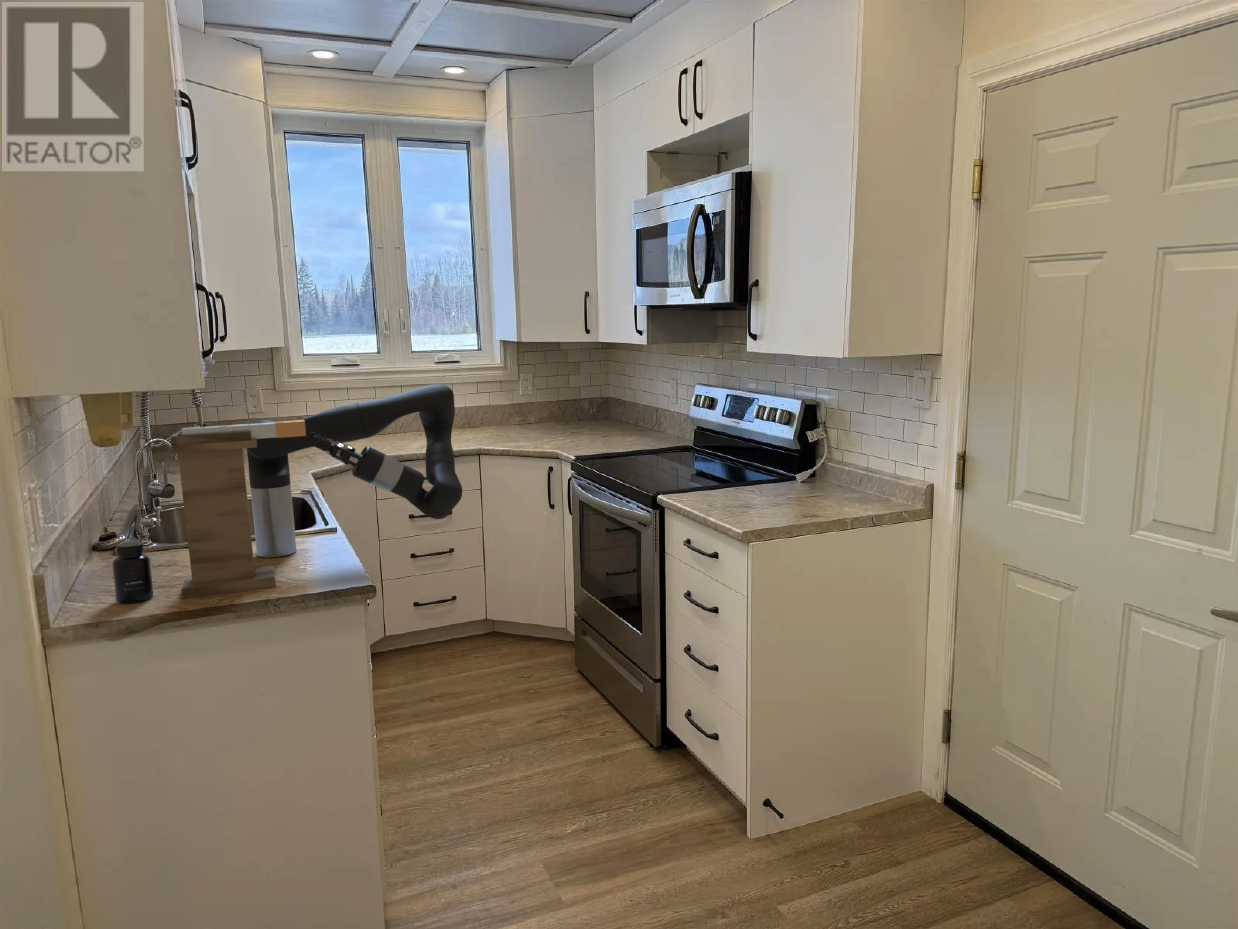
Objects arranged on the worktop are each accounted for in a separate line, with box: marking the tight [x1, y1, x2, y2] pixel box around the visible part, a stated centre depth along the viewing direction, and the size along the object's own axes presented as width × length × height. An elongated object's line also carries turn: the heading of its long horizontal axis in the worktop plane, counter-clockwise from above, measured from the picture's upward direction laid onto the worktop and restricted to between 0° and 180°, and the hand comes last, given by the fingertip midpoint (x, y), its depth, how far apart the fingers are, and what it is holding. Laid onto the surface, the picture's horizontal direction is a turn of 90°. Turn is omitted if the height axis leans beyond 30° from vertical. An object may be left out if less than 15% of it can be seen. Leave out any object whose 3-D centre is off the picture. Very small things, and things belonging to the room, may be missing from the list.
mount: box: [170, 431, 276, 600], centre depth 178 cm, size 10×18×34 cm, turn 114°
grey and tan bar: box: [181, 419, 306, 439], centre depth 178 cm, size 3×24×3 cm, turn 114°
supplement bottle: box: [111, 541, 154, 605], centre depth 172 cm, size 7×7×12 cm
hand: (310, 437), depth 183 cm, fingers open, 8 cm apart
